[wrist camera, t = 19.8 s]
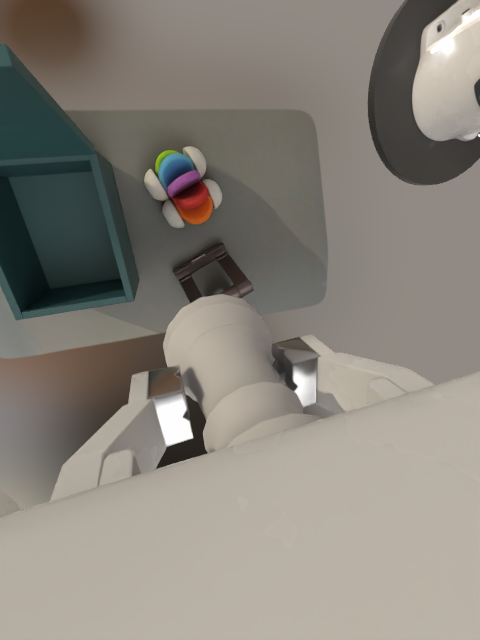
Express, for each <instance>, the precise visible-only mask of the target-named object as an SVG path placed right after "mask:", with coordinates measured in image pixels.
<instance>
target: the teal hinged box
mask: <svg viewBox="0 0 480 640" xmlns="http://www.w3.org/2000/svg"><path fill="white" fill-rule="evenodd" d="M138 283H139V277H138V273H137V268H136V264H135V260H134V256H133V252H132V248H131V244H130V239H129V235H128V231H127V227H126V223H125V219H124V215H123V210H122V206H121V202H120V198H119V194H118V190H117V186H116V182H115V177H114V173H113V169H112V165H111V163H110V162H108V161H107V160H106V159H105V158H104V157H102V156H101V155H100V154H99V153H98V152H97V151H95V154H90V155H73V156H57V157H40V158H24V159H7V160H0V286H1V288H2V290H3V292H4V295H5V297H6V299H7V301H8V303H9V306H10V308H11V310H12V312H13V314H14V317H15V319H16V320H20V319H26V318H33V317H39V316H45V315H51V314H57V313H63V312H69V311H75V310H81V309H87V308H93V307H99V306H106V305H112V304H118V303H124V302H131V301H134V299H135V295H136V291H137V287H138Z"/></svg>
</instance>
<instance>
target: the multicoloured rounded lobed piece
mask: <svg viewBox="0 0 480 640" xmlns="http://www.w3.org/2000/svg"><path fill="white" fill-rule="evenodd" d="M183 153H184V154H181V153H179V152H177V151H173V150H167V151H164V152H163V153H161V154H160V155H159V156H158V158H157V160H156V165H155V172H156V175H155V173H154V172H153V170H152V169H149V170H148V171H147V173H146V175H145V178H144V184H145V186H146V188H147V189H148V191H149V193H150V194H151V196H152V197H153V198H154V199H156V200H161V201H164V200H166V201H165V203H164V205H163V208H162V213H163V215H164V216H165V218H166V220H167V221H168V223H169V225H170V226H172V227H175V228H182V227H184V226H185V225H184V222H183V220H185V221H186V222H188V223H190V224H201V223H204V222H205V221H206V220H208V218H209V217H210V215H211V213H212V209H213V208H214V209H216V208H217V207H218V206H219V205H220V203H221V200H222V193H221V190H220V188H219V186H218V184H217V183H216V182H214V181H213V180H210V179H204V180H201V182H200V181H199V180H200V179H201V178H202V177H203V175H204V174H205V171H206V161H205V158H204V156H203V154H202V153H201V151H200V150H198V149H197V148H195V147H190V146H188V147H184V148H183ZM168 195H169V196H170V197H171V198H172V200H173V201H171V200H170V199H169V197H168Z"/></svg>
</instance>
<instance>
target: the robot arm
mask: <svg viewBox="0 0 480 640" xmlns="http://www.w3.org/2000/svg"><path fill="white" fill-rule="evenodd" d="M437 29H438V31H437ZM412 106H413V113H414V117H415V120H416V123H417V125H418V127H419V129H420V130H421V131H422V133H423V134H424V135H425V136H427V137H428V138H430V139H432V140H435V141H446V140H450V139H459V140H461V141H469V140H472V139H474V138H475V137H476V136H477V135H478V133H479V132H480V0H458V1H457V2H456V3H455V4H453V5H452V6H451V7H450V8H448V9H447V10H446V11H445V12H443V13H442V14H441V15H440V16H438V17H437V18H436V19H435V20H433V21H432V22H431V23H430V24H428V25H427V26H426V27H425V29H424V30H423V33H422V37H421V50H420V61H419V65H418V68H417V71H416V74H415V78H414V83H413V91H412ZM479 137H480V134H479ZM271 351H272V356H273V357H274V358H275V361H274V363H273V365H272V367H273V371H274V373H275V375H276V378H277V380H278V381H279V383H280V384H283V385H285V386H286V387H288V388H289V389H291V390H292V391H294V392H295V393H297V395H298V397H299V399H300V401H301V403H302V405H303V407H304V406H308V405H312V404H316V403H317V405H319V406H321V407H323V408H324V409H326V410H328V411H330V412H332V413H334V414H336V415H334V416H331V417H327V418H324V419H320V420H317V421H314V422H310V423H307V424H304V425H301V426H297V427H294V428H291V429H287V430H284V431H281V432H277V433H274V434H271V435H267V436H264V437H261V438H258V439H254V440H251V441H248V442H244V443H241V444H238V445H234V446H231V447H228V448H224V449H221V450H218V451H214V452H211V453H208V454H205V455H201V456H198V457H195V458H191V459H188V460H185V461H181V462H179V463H175V464H171V465H168V466H165V467H162V468H158V469H156V467H157V465H158V463H159V461H160V459H161V457H162V455H163V453H164V452H165V450H166V447H167V446H170V445H173V444H176V443H179V442H182V441H186V440H189V439H192V438H193V434H192V427H191V422H190V417H189V410H188V404H187V399H186V394H185V389H184V386H183V381H182V375H181V371H180V366H179V365H175V366H171V367H166V368H161V369H156V370H151V371H146V372H142V373H138V374H134V375H133V376H132V380H131V387H130V395H129V402H128V405H124V406H123V407H122V408H121V409H120V410H119V411H118V412H117V413H116V414H115V415H113V416H112V417H111V418H110V419H109V420H108V421H107V422H106V423H105V424H104V425H103V426H102V427H101V428H100V429H99V430H98V431H97V432H96V433H95V434H94V435H93V436H92V437H91V438H90V439H89V440H88V441H87V442H86V443H85V444H84V445H83V446H82V447H81V448H80V449H79V450H78V451H77V452H76V453H75V454H74V455H73V456H72V457H71V458H70V459H69V460H68V461H67V462H66V463H65V464H64V465H63V466H62V468H61V471H60V474H59V477H58V480H57V483H56V485H55V488H54V491H53V494H52V496H51V499H50V501H49V502H46V503H42V504H39V505H36V506H33V507H29V508H26V509H22V510H19V511H16V512H13V513H9V514H6V515H3V516H0V640H480V371H479V372H476V373H473V374H469V375H466V376H463V377H459V378H456V379H453V380H449V381H446V382H443V383H439V384H436V385H434V384H433V383H431V382H430V381H428V380H426V379H425V378H423V377H422V376H420V375H419V374H417V373H416V372H414V371H412V370H411V369H408V368H404V367H400V366H396V365H392V364H387V363H383V362H379V361H375V360H371V359H366V358H362V357H358V356H354V355H349V354H345V353H341V352H337V353H335V352H333V351H332V350H331V349H330V348H328V347H327V346H326V345H325V344H323V343H322V342H321V341H320V340H318V339H317V338H316V337H315V336H313V335H311V334H309V335H305V336H301V337H298V338H293V339H289V340H286V341H282V342H278V343H274V344H272V348H271Z"/></svg>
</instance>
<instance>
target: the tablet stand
mask: <svg viewBox="0 0 480 640" xmlns="http://www.w3.org/2000/svg"><path fill="white" fill-rule="evenodd" d="M215 259H217V261H218V262H219V263H220V265H221V266H222V268H223V269H224V270H225V272H226V273H227V275H228V276H229V277H230V279H231V280H232V282H233V283H234V285H232V286H231V287H229V288H227V289H226V290H224V291H222V292H221V293H219V294H217V295H220V294H224V295H228V296H232V297H236V298H242V297H243V296H245V295H247V294H248V293H250V292H252V291H253V290H254V289H253V287H252V284H251V282H250V281H249V280H248V279H247V277H246V276H245V275H244V274H243V272H242V271H241V270H240V268H239V267H238V266H237V265H236V263H235V262H234V261H233V260H232V258H231V257H230V256H229V254H228V253H227V252H226V249H225V246H224V244H223V243H220V244H218V245H216V246H215V247H213V248H211V249H210V250H208V251H206V252H205V253H203V254H201V255H200V256H198V257H196V258H194V259H193V260H191V261H189V262H188V263H186V264H184V265H183V266H181V267H179V268H177V269H176V270H174V271H173V272H174V274H175V276H176V277H177V278H178V280H179V282H180V283H181V285H182V287H183V289H184V291H185V293H186V295H187V297H188V299H189V301H190V303H192V302H194V301H195V300H197V299H199V298H201V297H202V295H201V293H200V291H199V290H198V288H197V286H196V284H195V282H194V281H193V279H192V277H191V275H190V274H192V273H193V272H195V271H197V270H198V269H200V268H202V267H203V266H205V265H207V264H209V263H210V262H212V261H214V260H215Z"/></svg>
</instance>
